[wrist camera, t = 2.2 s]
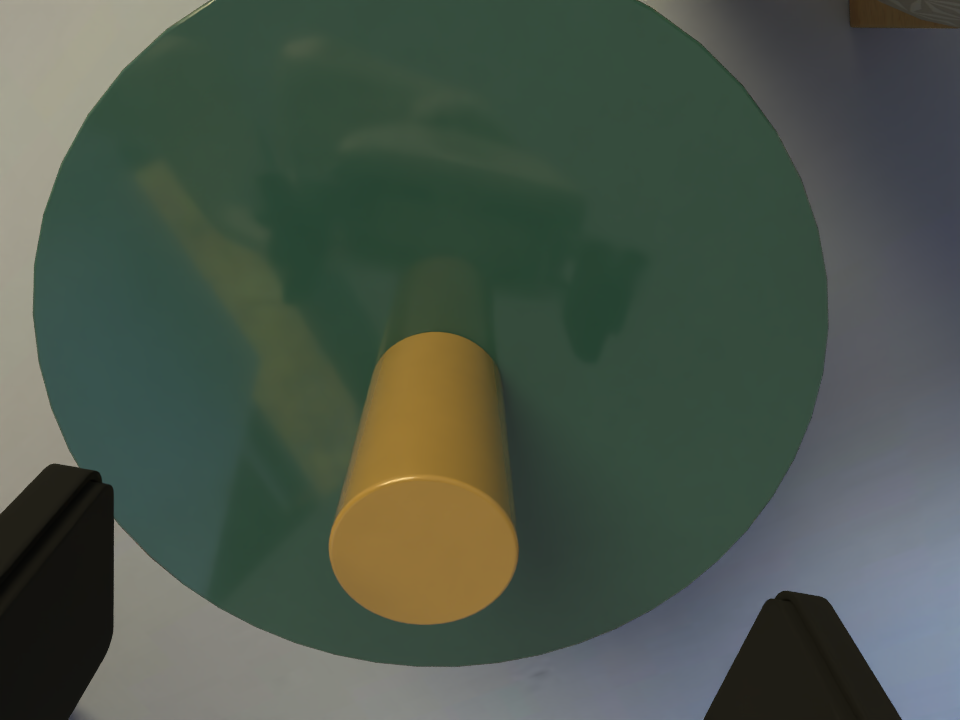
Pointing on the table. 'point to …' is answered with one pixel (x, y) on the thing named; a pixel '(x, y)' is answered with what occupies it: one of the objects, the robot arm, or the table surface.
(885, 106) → the table surface
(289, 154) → the bowl lid
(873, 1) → the planter
